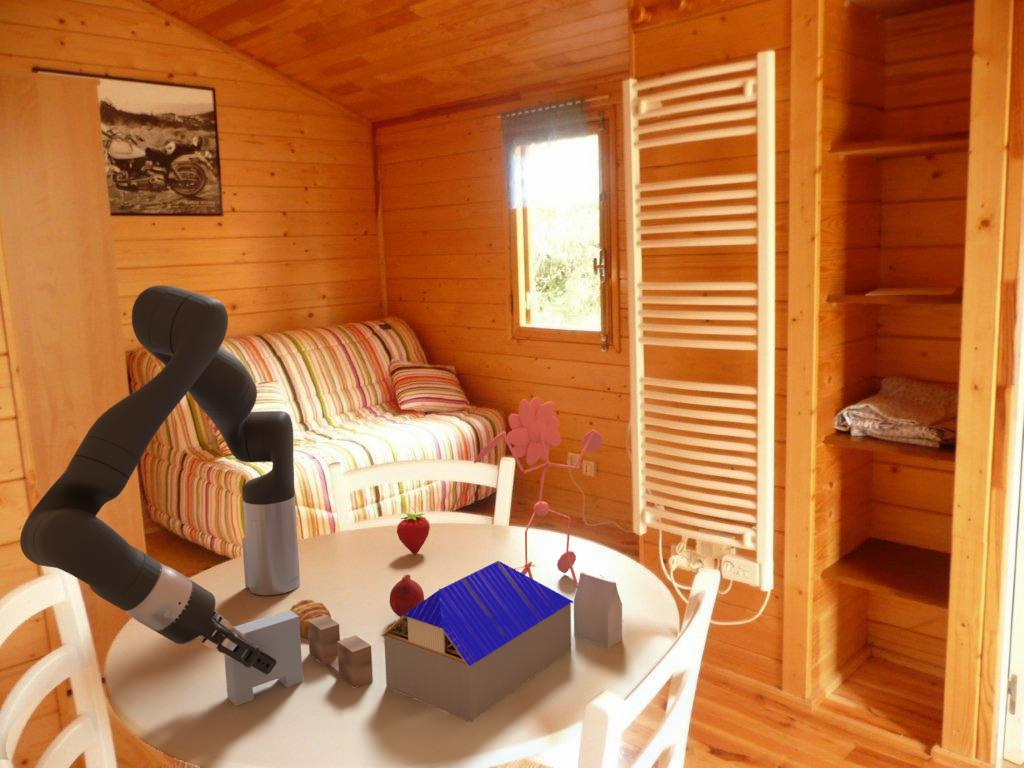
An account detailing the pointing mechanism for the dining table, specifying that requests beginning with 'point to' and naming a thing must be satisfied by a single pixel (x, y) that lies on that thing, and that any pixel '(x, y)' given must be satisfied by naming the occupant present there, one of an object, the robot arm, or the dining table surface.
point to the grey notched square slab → (276, 641)
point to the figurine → (533, 441)
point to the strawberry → (413, 531)
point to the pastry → (308, 613)
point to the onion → (405, 596)
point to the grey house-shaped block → (597, 611)
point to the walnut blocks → (340, 651)
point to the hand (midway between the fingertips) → (260, 658)
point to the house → (477, 640)
